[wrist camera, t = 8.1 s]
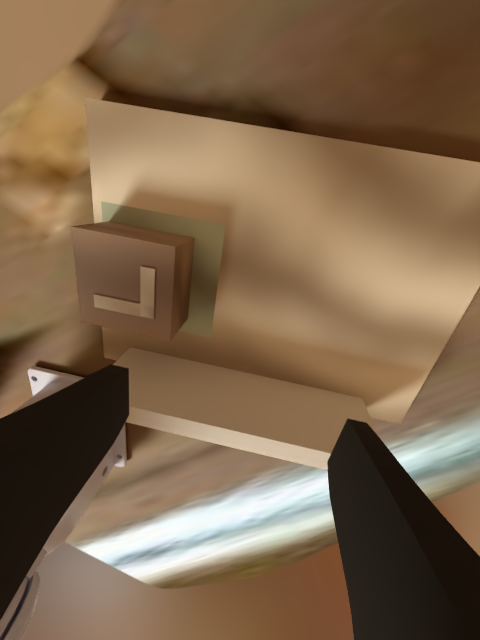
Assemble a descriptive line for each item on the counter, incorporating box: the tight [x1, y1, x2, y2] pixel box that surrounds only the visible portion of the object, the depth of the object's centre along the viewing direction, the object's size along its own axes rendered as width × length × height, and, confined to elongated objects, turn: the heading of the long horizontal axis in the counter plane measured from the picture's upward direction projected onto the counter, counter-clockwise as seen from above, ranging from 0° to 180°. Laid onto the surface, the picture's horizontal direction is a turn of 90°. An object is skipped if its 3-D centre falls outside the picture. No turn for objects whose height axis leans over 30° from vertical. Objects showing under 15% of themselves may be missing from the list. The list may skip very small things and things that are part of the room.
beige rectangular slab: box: [113, 347, 377, 470], centre depth 16 cm, size 1×16×5 cm, turn 81°
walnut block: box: [71, 221, 195, 341], centre depth 15 cm, size 5×5×3 cm
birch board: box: [85, 98, 480, 424], centre depth 16 cm, size 15×21×1 cm
